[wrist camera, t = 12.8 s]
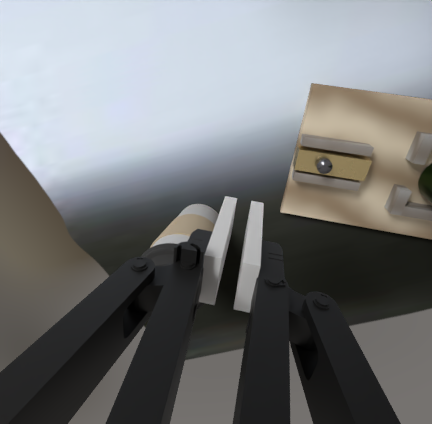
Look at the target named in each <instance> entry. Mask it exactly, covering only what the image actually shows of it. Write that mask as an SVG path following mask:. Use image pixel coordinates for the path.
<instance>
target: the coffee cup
mask: <svg viewBox="0 0 432 424" xmlns="http://www.w3.org/2000/svg"><path fill="white" fill-rule="evenodd" d="M218 216H219V215H218V213H217V212H216V211H215V210H214V209H212V208H211V207H209V206H207V205H203V204H193V205H190V206H188V207H186V208H185V209H184V210H183V211H182V212H181V213H180V214H179V216H178V217H177V218H176V219H174V220H173V221H172V222H171V224H170V225H169V226H168V227H167V228H166V229H165V230H164V231H163V232H162V234H161V235H160V236H159V237H158V238H157V239H156V240H155V241H154V242H153V244H152V245H151V247H150V248H149V249H148V250H147V251H145V252H144V253H143V255H142V256H141V257H146V258H149V259H151V260H152V261H153V262H154V263H155V266H167V265H171V264H173V258H174V247H175V246H176V245H177V244H178V243H180V242H186V241H188V239H189V237H190V235H191V233H192V232H193V231H195V230H196V229H202V230H207V231H212V232H213V230H214V227H215V224H216V221H217V218H218ZM204 304H205V303H202V302H199V299H198V304H197V309H199V308H200V307H202V306H203V305H204Z"/></svg>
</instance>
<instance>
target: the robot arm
mask: <svg viewBox="0 0 432 424" xmlns="http://www.w3.org/2000/svg"><path fill="white" fill-rule="evenodd" d="M236 202H237V198H232V197H227V196H225V199H224V201H223V204H222V207H221V210H220V213H219V216H218V218H217V221H216V224H215V227H214V230H213V232H212V231H207V230H202V229H196V230H195V231H193V232H192V233H191V235H190V237H189V239H188V241H186V242H180V243H178V244H177V245H176V246H175V247H174V258H173V264H171V265H167V266H155V263H154V262H153V261H152V260H151V259H149V258H146V257H135V258H132V259H130V260H128V261H127V262H125V263H124V264H123V265H122V266H121V267H120V268H119V269H117V270H116V271H115V272H114V273H113V274H112V275H111V276H110V277H108V278H107V279H106V280H105V281H104V282H103V283H102V284H100V285H99V286H98V287H97V288H96V289H95V290H94V291H93V292H91V293H90V294H89V295H88V296H87V297H86V298H84V299H83V300H82V301H81V302H80V303H79V304H78V305H76V306H75V307H74V308H73V309H72V310H71V311H70V312H69V313H67V314H66V315H65V316H64V317H63V318H62V319H61V320H60V321H58V322H57V323H56V324H55V325H54V326H53V327H51V328H50V329H49V330H48V331H47V332H46V333H45V334H43V335H42V336H41V337H40V338H39V339H38V340H37V341H35V342H34V343H33V344H32V345H31V346H30V347H29V348H28V349H27V350H25V351H24V352H23V353H22V354H21V355H20V356H18V357H17V358H16V359H15V360H14V361H13V362H12V363H11V364H9V365H8V366H7V367H6V368H5V369H4V370H2V371H1V372H0V424H68V422H69V421H70V420H71V419H72V417H73V416H74V415H75V413H76V412H77V411H78V410H79V408H80V407H81V406H82V404H83V403H84V402H85V401H86V399H87V398H88V397H89V395H90V394H91V393H92V391H93V390H94V389H95V387H96V386H97V385H98V384H99V382H100V381H101V380H102V379H103V377H104V376H105V375H106V373H107V372H108V371H109V369H110V368H111V367H112V366H113V364H114V363H115V362H116V360H117V359H118V358H119V356H120V355H121V354H122V353H123V351H124V350H125V349H126V347H127V346H128V345H129V344H130V342H131V341H132V340H133V338H134V337H135V336H136V335H137V333H138V332H139V330H140V329H141V328H142V327H143V325H144V324H145V323H146V322H147V320H148V319H149V318H150V319H149V321H148V324H147V326H146V329H145V331H144V334H143V336H142V338H141V341H140V343H139V345H138V348H137V350H136V353H135V355H134V357H133V360H132V362H131V364H130V367H129V369H128V372H127V374H126V376H125V379H124V381H123V384H122V386H121V388H120V391H119V393H118V396H117V398H116V400H115V403H114V405H113V407H112V410H111V412H110V415H109V417H108V419H107V422H106V424H170V420H171V416H172V412H173V408H174V403H175V399H176V395H177V391H178V386H179V382H180V378H181V374H182V370H183V365H184V361H185V357H186V353H187V349H188V344H189V340H190V336H191V332H192V328H193V323H194V319H195V315H196V311H197V304H198V299H199V302H202V303H207V304H212V305H214V304H215V300H216V296H217V292H218V287H219V283H220V279H221V275H222V271H223V266H224V262H225V258H226V254H227V250H228V245H229V241H230V237H231V232H232V226H233V220H234V214H235V208H236ZM263 204H264V203H260V202H255V201H251V206H250V212H249V217H248V222H247V227H246V232H245V237H244V244H243V250H242V257H241V264H240V270H239V277H238V283H237V290H236V296H235V303H234V309H235V310H239V311H244V312H249V313H250V316H249V320H248V324H247V328H246V332H245V333H246V339H245V346H244V352H243V359H242V365H241V372H240V379H239V386H238V392H237V399H236V405H235V412H234V418H233V424H290V376H289V374H290V373H289V341H290V344H291V348H292V352H293V355H294V358H295V362H296V366H297V369H298V373H299V376H300V379H301V383H302V386H303V390H304V393H305V397H306V400H307V404H308V407H309V411H310V414H311V417H312V421H313V424H401V423H400V422H399V420H398V418H397V416H396V414H395V412H394V411H393V408H392V406H391V405H390V403H389V401H388V399H387V397H386V395H385V394H384V392H383V390H382V388H381V386H380V384H379V382H378V380H377V378H376V376H375V375H374V373H373V371H372V369H371V367H370V365H369V363H368V361H367V360H366V358H365V356H364V354H363V352H362V350H361V348H360V346H359V344H358V343H357V341H356V339H355V337H354V335H353V333H352V331H351V329H350V328H349V326H348V324H347V322H346V320H345V318H344V316H343V314H342V313H341V311H340V309H339V307H338V305H337V303H336V302H335V301H334V300H333V299H332V298H331V297H329V296H328V295H326V294H324V293H321V292H310V293H308V294H307V295H306V296H303V295H301V294H299V293H297V292H295V291H293V290H292V289H291V288H289V286H288V283H287V281H286V280H285V278H284V265H283V251H282V248H281V247H280V245H279V244H278V243H273V242H268V241H263V240H262V225H263ZM150 316H151V317H150Z"/></svg>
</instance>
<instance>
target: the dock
mask: <svg viewBox="0 0 432 424" xmlns="http://www.w3.org/2000/svg"><path fill="white" fill-rule="evenodd" d="M298 145H300V146H306V147H313V148H319V149H325V150H332V151H338V152H344V153H351V154H357V155H363V156H367V157H368V158H369V159H370V160H371V161H372V163H371V165H370V168H369V170H368V173H367V176H366V178H365V181H360V180H354V179H348V178H342V177H336V176H329V175H323V174H317V173H311V172H305V171H299V170H294V167H293V162H294V158H295V154H296V150H297V146H298ZM431 162H432V100H431V99H424V98H416V97H409V96H402V95H394V94H387V93H379V92H372V91H365V90H357V89H350V88H343V87H335V86H328V85H321V84H313V83H312V84H311V88H310V92H309V96H308V100H307V104H306V108H305V112H304V116H303V120H302V124H301V128H300V132H299V136H298V140H297V144H296V148H295V152H294V156H293V160H292V164H291V168H290V172H289V176H288V180H287V184H286V188H285V192H284V196H283V200H282V204H281V208H280V210H281V212H282V213H288V214H293V215H299V216H304V217H310V218H315V219H321V220H326V221H332V222H338V223H343V224H349V225H354V226H360V227H365V228H371V229H376V230H382V231H387V232H393V233H398V234H404V235H410V236H415V237H421V238H426V239H432V203H431V202H430V201H429V200H427V199H426V198H425V197H424V196H423V195H422V194H421V193H420V191H419V188H418V179H419V176H420V173H421V172H422V171H423V169H424V168H425V167H426V166H427V165H429V164H430V163H431Z"/></svg>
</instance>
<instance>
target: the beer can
mask: <svg viewBox="0 0 432 424" xmlns="http://www.w3.org/2000/svg"><path fill="white" fill-rule="evenodd" d="M418 188H419V191H420V193H421V194H422V195H423V196H424V197H425V198H426V199H427V200H429V201H430V202H431V203H432V162H431V163H430V164H429V165H427V166H426V167H425V168H424V169H423V171H422V172H421V173H420V176H419V179H418Z"/></svg>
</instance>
